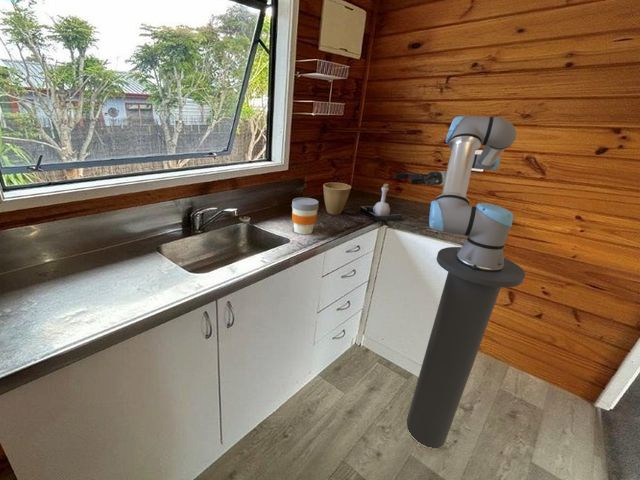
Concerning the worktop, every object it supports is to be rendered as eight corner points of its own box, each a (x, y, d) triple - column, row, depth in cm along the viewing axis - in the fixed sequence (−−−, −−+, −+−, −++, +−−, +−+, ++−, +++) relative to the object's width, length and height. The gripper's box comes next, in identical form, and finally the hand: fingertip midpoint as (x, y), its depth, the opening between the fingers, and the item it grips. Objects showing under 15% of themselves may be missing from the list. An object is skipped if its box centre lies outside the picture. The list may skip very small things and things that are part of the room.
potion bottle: (392, 216, 169) (398, 184, 163) (381, 218, 165) (387, 186, 159) (379, 211, 176) (384, 181, 170) (368, 214, 172) (373, 183, 166)
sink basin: (384, 210, 179) (386, 201, 177) (401, 219, 164) (403, 210, 162) (359, 211, 176) (360, 202, 175) (373, 221, 162) (375, 211, 160)
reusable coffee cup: (320, 229, 149) (323, 200, 144) (309, 237, 139) (312, 206, 134) (297, 224, 156) (299, 196, 150) (285, 231, 146) (287, 201, 141)
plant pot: (315, 211, 175) (317, 184, 169) (333, 207, 183) (336, 181, 177) (334, 219, 163) (338, 190, 158) (353, 214, 171) (356, 186, 165)
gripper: (453, 190, 158) (416, 191, 155) (421, 179, 181) (388, 180, 177) (456, 176, 155) (420, 176, 152) (423, 167, 178) (391, 167, 175)
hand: (403, 178), depth 165 cm, fingers open, 13 cm apart
